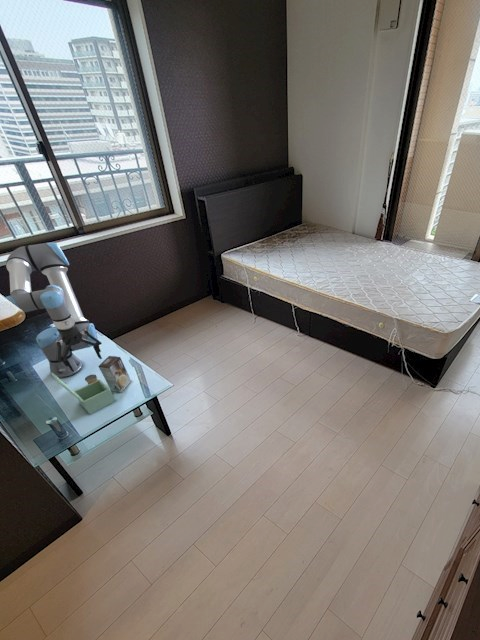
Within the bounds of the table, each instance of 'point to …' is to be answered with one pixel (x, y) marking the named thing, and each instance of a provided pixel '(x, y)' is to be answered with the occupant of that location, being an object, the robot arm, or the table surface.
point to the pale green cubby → (95, 396)
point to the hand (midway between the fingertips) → (86, 364)
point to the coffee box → (115, 373)
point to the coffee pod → (91, 379)
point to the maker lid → (66, 387)
